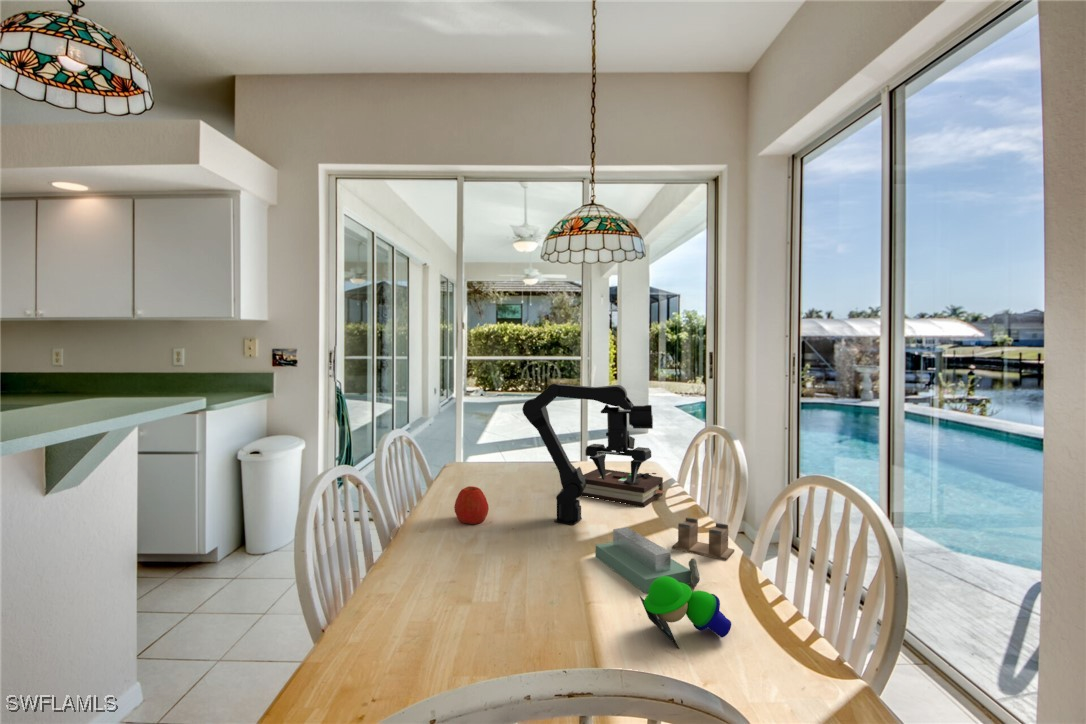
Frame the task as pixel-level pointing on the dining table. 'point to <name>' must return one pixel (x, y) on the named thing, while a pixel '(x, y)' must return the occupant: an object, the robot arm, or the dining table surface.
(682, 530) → the rack
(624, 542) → the rail
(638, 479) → the decorative book
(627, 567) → the green rectangular slab
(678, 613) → the toy
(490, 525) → the dining table surface
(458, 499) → the apple
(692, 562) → the stone
